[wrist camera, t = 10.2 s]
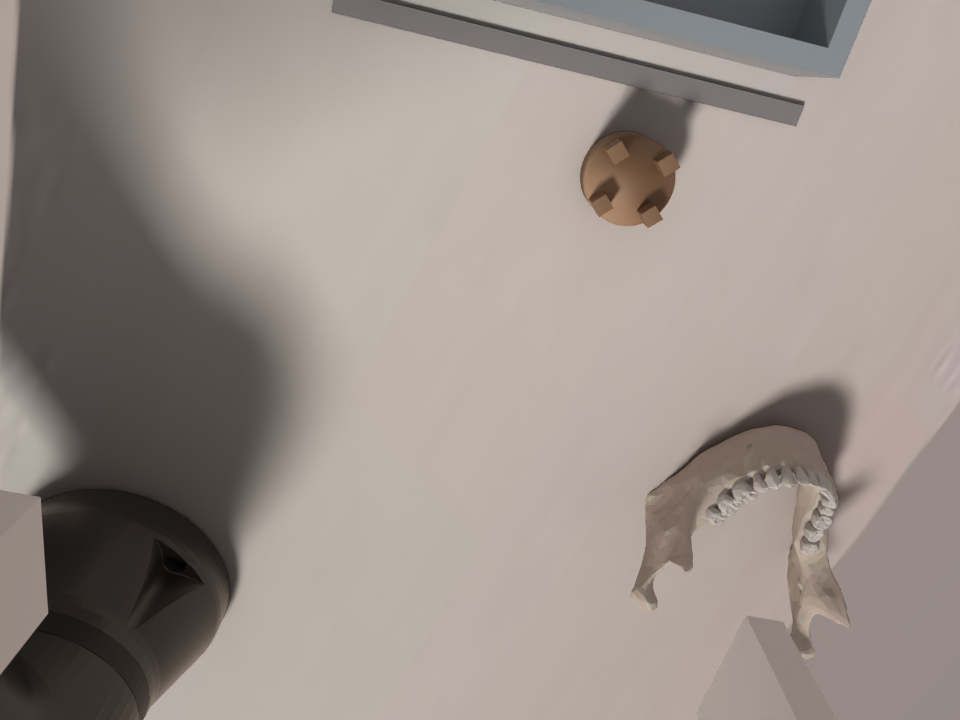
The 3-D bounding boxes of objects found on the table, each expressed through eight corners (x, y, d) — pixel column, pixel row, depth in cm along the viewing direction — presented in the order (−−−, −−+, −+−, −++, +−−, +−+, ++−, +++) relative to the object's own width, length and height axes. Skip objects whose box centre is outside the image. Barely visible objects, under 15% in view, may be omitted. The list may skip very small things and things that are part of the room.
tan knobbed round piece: (604, 231, 36) (616, 247, 33) (565, 161, 35) (573, 171, 32) (677, 187, 35) (696, 199, 32) (639, 114, 34) (656, 119, 31)
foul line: (332, 12, 32) (331, 12, 32) (335, -11, 31) (334, -12, 31) (794, 125, 34) (796, 126, 34) (802, 105, 34) (804, 105, 34)
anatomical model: (891, 451, 41) (946, 608, 34) (778, 526, 49) (805, 665, 42) (709, 387, 39) (730, 539, 32) (621, 475, 47) (623, 613, 40)
